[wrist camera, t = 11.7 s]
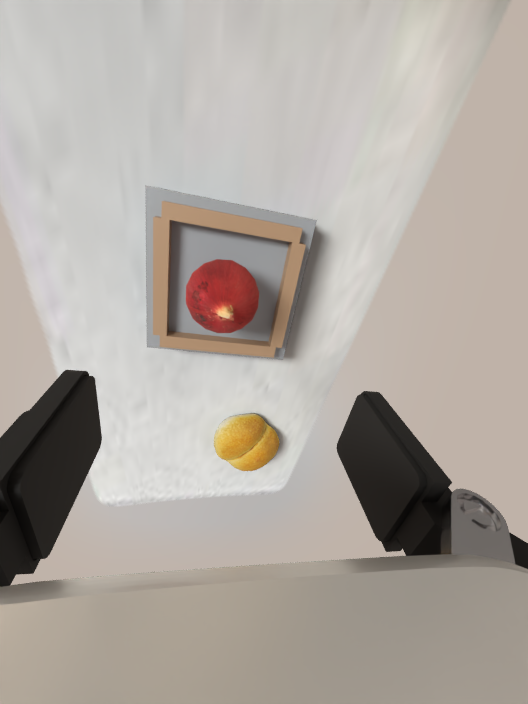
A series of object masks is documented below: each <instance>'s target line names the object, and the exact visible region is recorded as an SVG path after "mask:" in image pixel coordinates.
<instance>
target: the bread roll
mask: <svg viewBox="0 0 528 704" xmlns="http://www.w3.org/2000/svg"><path fill="white" fill-rule="evenodd" d="M214 447H215V450H216V453H217V455H218V456H219V457H220V458H222V459H224V460H226V461H228V462H229V463H230V464H231V465H232V466H233V467H235V468H237V469H239V470H241V471H253V470H257V469H259V468H261V467H263V466H264V465H266V464H267V463H268V462H269V461H270V460H271V459H273V458H274V456H275V455H276V453H277V450H278V447H279V438H278V435H277V433H276V432H275V430H274V429H273V428H272V427H270V426H269V425H268V424H267V423H266V422H265V421H264V420H263V419H262V418H261V417H260V416H259V415H257V414H252V413H251V414H242V415H236V416H230V417H228V418H227V419H225V420H224V421H223V422H222V423H221V424H220V425H219V427H218V429H217V430H216V433H215V436H214Z"/></svg>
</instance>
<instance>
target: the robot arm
mask: <svg viewBox="0 0 528 704" xmlns="http://www.w3.org/2000/svg"><path fill="white" fill-rule="evenodd" d="M101 440H102V436H101V427H100V419H99V410H98V402H97V393H96V385H95V378H94V377H93V376H89V374H88V372H86V371H75V370H65V371H64V372H63V373H62V374H61V375H60V376H59V377H58V379H57V380H56V381H55V382H54V383H53V385H52V386H51V387H50V388H49V389H48V390H47V391H46V392H45V393H44V395H43V396H42V397H41V398H40V399H39V400H38V401H37V403H36V404H35V405H34V406H33V407H32V409H30V411H26V412H24V413H23V414H22V415H21V416H19V418H18V419H17V420H16V421H15V422H14V423H13V425H12V426H11V427H10V428H9V429H8V430H7V431H6V432H5V433H4V434H3V436H2V437H1V438H0V704H528V543H526V542H524V541H523V540H521V539H520V538H518V537H516V536H515V535H513V534H511V533H509V530H508V526H507V523H506V521H505V519H504V517H503V516H502V515H501V513H500V512H499V511H498V510H497V509H496V508H495V507H494V506H493V505H492V504H491V503H490V502H489V501H487V500H486V499H485V498H483V497H482V496H480V495H478V494H477V493H474V492H472V491H469V490H466V489H456V490H454V491H453V492H451V491H450V489H449V488H448V487H449V486H450V484H451V483H452V482H451V480H450V479H449V478H448V477H447V476H446V474H445V473H444V472H443V471H442V469H441V468H440V467H439V466H438V464H437V463H436V462H435V461H434V459H433V458H432V457H431V456H430V455H429V453H428V452H427V451H426V450H425V448H424V447H423V446H422V445H421V443H420V442H419V441H418V440H417V438H416V437H415V436H414V435H413V434H412V432H411V431H410V430H409V428H408V427H407V426H406V425H405V423H404V422H403V421H402V420H401V418H400V417H399V416H398V415H397V413H396V412H395V411H394V410H393V408H392V407H391V406H390V405H389V403H388V402H387V401H386V400H385V399H384V397H383V396H382V395H381V394H380V393H379V392H368V391H364V392H363V393H361V395H358V396H357V398H356V401H355V403H354V405H353V408H352V410H351V412H350V415H349V417H348V420H347V422H346V424H345V427H344V429H343V431H342V434H341V436H340V438H339V441H338V443H337V452H338V455H339V457H340V459H341V461H342V463H343V466H344V468H345V470H346V472H347V475H348V477H349V479H350V481H351V483H352V486H353V488H354V490H355V492H356V494H357V496H358V499H359V501H360V503H361V505H362V508H363V510H364V512H365V514H366V516H367V519H368V521H369V523H370V525H371V527H372V529H373V532H374V534H375V536H376V538H377V539H378V540H379V541H381V542H382V544H383V546H384V548H385V551H386V552H390V551H401V550H402V548H403V550H404V552H405V554H406V556H397V557H380V558H363V559H346V560H329V561H314V562H299V563H282V564H267V565H251V566H236V567H222V568H207V569H193V570H179V571H164V572H151V573H138V574H123V575H110V576H98V577H87V578H75V579H64V580H53V581H41V582H33V583H26V584H18V585H11V583H12V581H13V579H14V577H15V575H16V574H32V573H34V571H35V569H36V567H37V565H38V563H39V561H40V559H45V558H47V557H48V555H49V554H50V552H51V550H52V548H53V546H54V544H55V542H56V540H57V538H58V536H59V533H60V531H61V529H62V527H63V525H64V523H65V521H66V519H67V516H68V514H69V512H70V510H71V508H72V506H73V504H74V502H75V499H76V497H77V495H78V493H79V491H80V489H81V487H82V485H83V482H84V480H85V478H86V476H87V474H88V472H89V470H90V468H91V465H92V463H93V461H94V459H95V457H96V455H97V453H98V451H99V448H100V445H101Z"/></svg>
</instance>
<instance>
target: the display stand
mask: <svg viewBox="0 0 528 704" xmlns="http://www.w3.org/2000/svg"><path fill="white" fill-rule="evenodd" d="M316 221H317V220H313V219H308V218H303V217H298V216H293V215H288V214H283V213H278V212H273V211H269V210H264V209H259V208H254V207H249V206H244V205H239V204H234V203H229V202H224V201H219V200H214V199H210V198H205V197H200V196H195V195H190V194H185V193H180V192H175V191H170V190H165V189H160V188H155V187H150V186H146V299H147V347H151V348H162V349H172V350H183V351H194V352H205V353H215V354H226V355H237V356H247V357H258V358H269V359H280V360H283V357H284V353H285V349H286V345H287V341H288V337H289V333H290V328H291V324H292V320H293V316H294V312H295V308H296V304H297V299H298V295H299V291H300V287H301V283H302V279H303V275H304V271H305V266H306V262H307V258H308V254H309V250H310V246H311V242H312V237H313V233H314V229H315V225H316ZM216 259H222V260H233V261H234V262H236V263H238V264H240V265H242V266H243V267H245V268H246V269H247V270H248V271H249V273H250V274H251V275H252V276H253V278H254V279H255V281H256V284H257V287H258V290H259V302H258V309H257V311H256V313H255V315H254V318H253V320H252V321H251V322H249V323H248V324H247V325H246V326H244V327H243V328H242V329H240V330H237V331H235V332H232V333H216V332H213V331H210V330H207V329H205V328H204V327H202V326H201V325H200V324H198V323H197V322H196V321H195V320H194V319H193V318H192V316H191V314H190V312H189V310H188V307H187V305H186V285H187V283H188V281H189V279H190V277H191V275H192V273H193V272H194V271H195V270H197V269H198V268H199V267H200V266H202V265H203V264H204V263H207V262H210V261H213V260H216Z"/></svg>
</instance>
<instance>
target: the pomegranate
mask: <svg viewBox="0 0 528 704" xmlns="http://www.w3.org/2000/svg"><path fill="white" fill-rule="evenodd" d="M258 302H259V290H258V287H257V284H256V281H255V279H254V278H253V276H252V275H251V274H250V273H249V271H248V270H247V269H246V268H245V267H243V266H242V265H240V264H238V263H236V262H234V261H233V260H222V259H216V260H213V261H210V262H207V263H204V264H203V265H202V266H200V267H199V268H198V269H197V270H195V271H194V272H193V273H192V275H191V277H190V279H189V281H188V283H187V285H186V305H187V307H188V310H189V312H190V314H191V316H192V318H193V319H194V320H195V321H196V322H197V323H198V324H200V325H201V326H202V327H204V328H205V329H207V330H210V331H213V332H216V333H232V332H235V331H237V330H240V329H242V328H243V327H244V326H246V325H247V324H248V323H249V322H251V321H252V320H253V318H254V315H255V313H256V311H257V309H258Z"/></svg>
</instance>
